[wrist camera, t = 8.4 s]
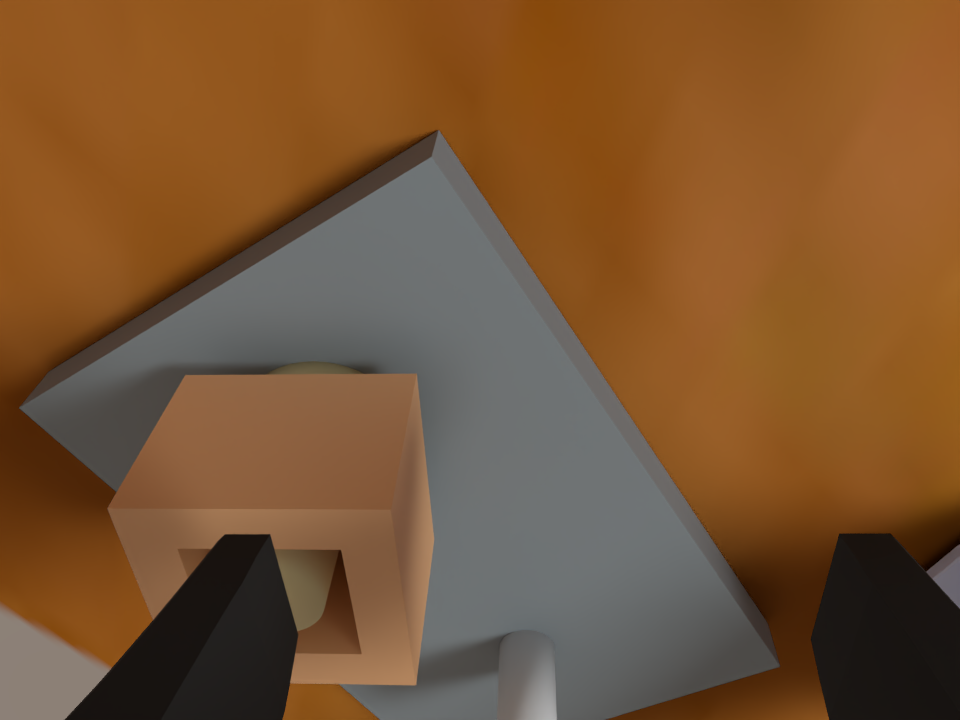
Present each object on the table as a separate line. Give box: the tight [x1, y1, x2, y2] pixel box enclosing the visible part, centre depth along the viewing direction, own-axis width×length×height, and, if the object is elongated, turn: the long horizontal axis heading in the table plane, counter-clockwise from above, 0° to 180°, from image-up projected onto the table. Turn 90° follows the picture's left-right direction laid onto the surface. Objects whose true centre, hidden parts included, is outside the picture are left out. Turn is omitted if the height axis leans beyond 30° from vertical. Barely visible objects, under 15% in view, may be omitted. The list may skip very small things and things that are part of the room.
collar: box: [107, 374, 434, 685], centre depth 17 cm, size 5×5×4 cm
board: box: [19, 130, 780, 720], centre depth 20 cm, size 18×12×6 cm, turn 32°
